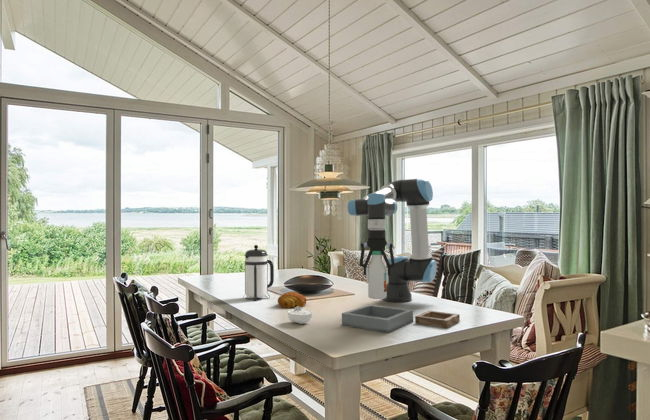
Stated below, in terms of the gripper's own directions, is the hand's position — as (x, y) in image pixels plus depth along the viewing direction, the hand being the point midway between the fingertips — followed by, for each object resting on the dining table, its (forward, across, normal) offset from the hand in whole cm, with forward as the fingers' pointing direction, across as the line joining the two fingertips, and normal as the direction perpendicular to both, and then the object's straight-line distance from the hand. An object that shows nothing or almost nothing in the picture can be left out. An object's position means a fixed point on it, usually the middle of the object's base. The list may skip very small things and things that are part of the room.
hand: (377, 283), depth 191 cm
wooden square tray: (+17, +25, +6) cm, 31 cm away
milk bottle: (+6, 0, 0) cm, 6 cm away
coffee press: (+17, -72, +48) cm, 88 cm away
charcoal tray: (+17, 0, 0) cm, 17 cm away
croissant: (+18, -46, +31) cm, 59 cm away
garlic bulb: (+17, -33, -4) cm, 37 cm away
